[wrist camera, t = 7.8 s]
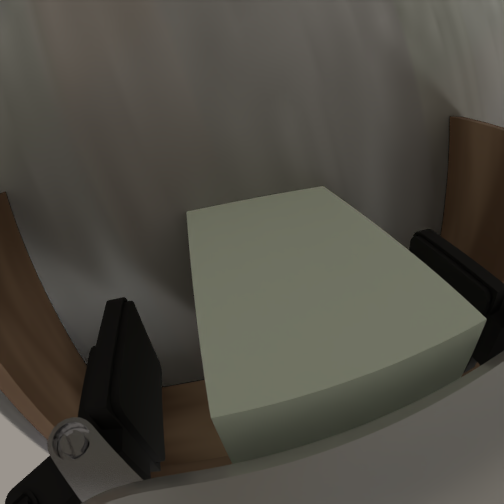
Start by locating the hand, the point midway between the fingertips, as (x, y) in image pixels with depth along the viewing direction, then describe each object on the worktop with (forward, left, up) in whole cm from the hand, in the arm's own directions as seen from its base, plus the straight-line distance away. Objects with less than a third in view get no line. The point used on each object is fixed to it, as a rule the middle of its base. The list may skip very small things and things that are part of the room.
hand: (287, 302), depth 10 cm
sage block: (0, 0, -3) cm, 3 cm away
